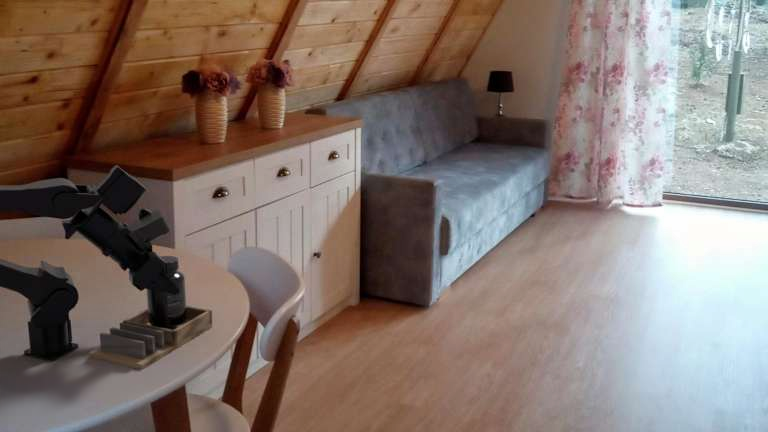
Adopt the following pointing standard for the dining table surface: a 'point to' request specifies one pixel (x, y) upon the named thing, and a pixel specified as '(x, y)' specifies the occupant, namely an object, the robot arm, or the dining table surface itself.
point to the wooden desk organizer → (149, 338)
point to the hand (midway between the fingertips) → (173, 286)
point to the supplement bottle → (168, 299)
